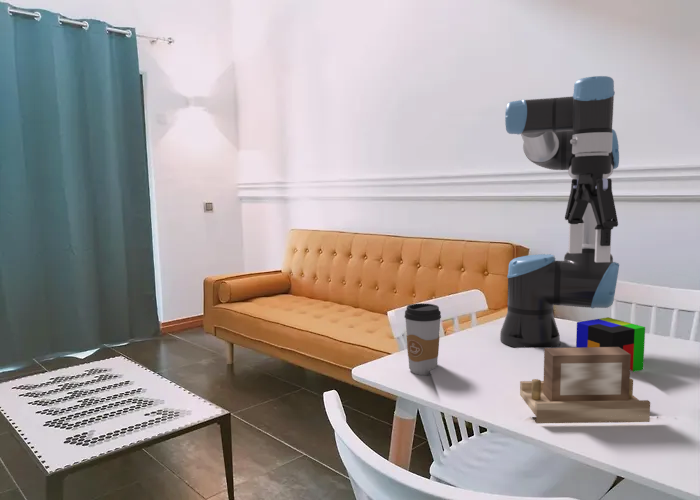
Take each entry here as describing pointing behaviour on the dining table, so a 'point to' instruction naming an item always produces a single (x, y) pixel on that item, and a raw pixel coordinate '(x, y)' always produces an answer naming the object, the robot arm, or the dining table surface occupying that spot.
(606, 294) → the robot arm
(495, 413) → the dining table surface
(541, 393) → the ledge
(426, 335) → the coffee cup
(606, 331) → the puzzle toy
